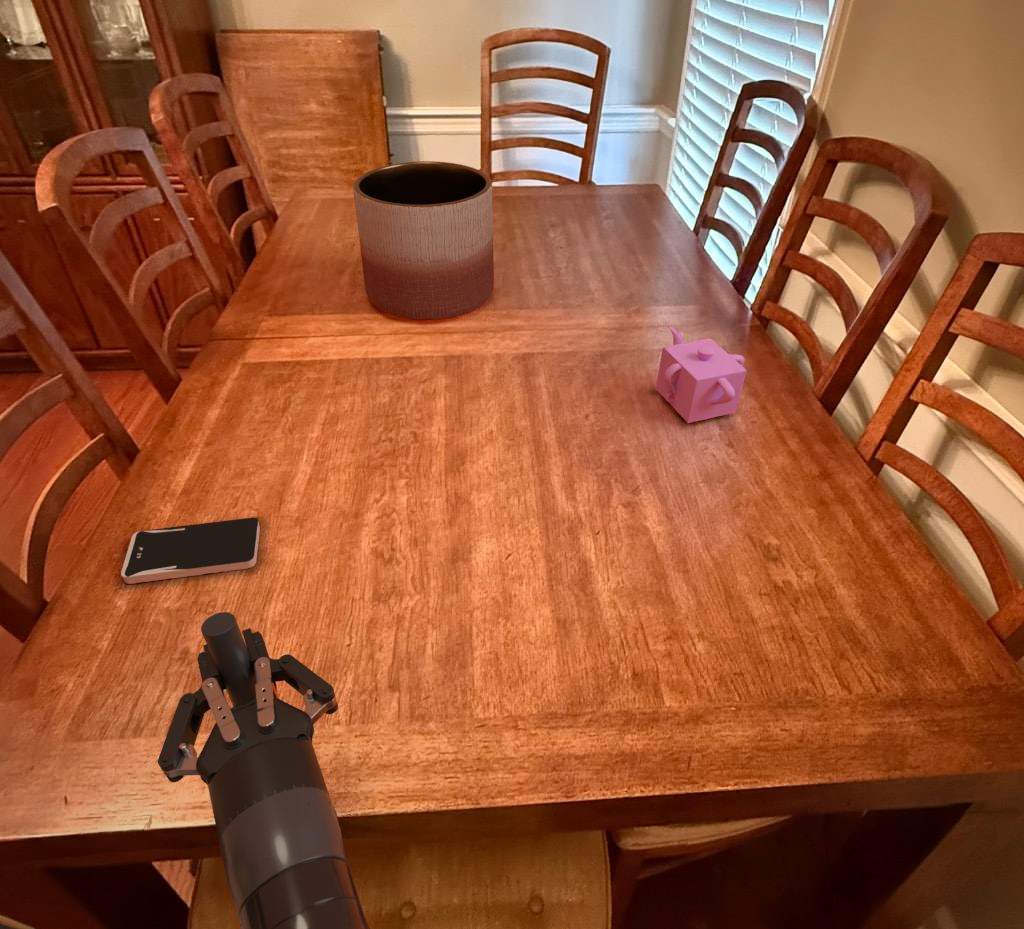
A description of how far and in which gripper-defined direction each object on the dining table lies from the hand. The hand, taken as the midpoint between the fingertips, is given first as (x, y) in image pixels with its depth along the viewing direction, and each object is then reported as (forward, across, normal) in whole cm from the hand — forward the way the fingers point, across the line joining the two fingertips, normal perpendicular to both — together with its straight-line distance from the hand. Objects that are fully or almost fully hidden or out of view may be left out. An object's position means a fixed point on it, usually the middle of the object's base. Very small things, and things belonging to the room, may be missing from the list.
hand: (229, 642), depth 60 cm
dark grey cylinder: (-4, 0, +7) cm, 8 cm away
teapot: (+24, -74, +14) cm, 79 cm away
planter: (+78, -51, +13) cm, 94 cm away
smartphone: (+27, +2, +14) cm, 30 cm away
